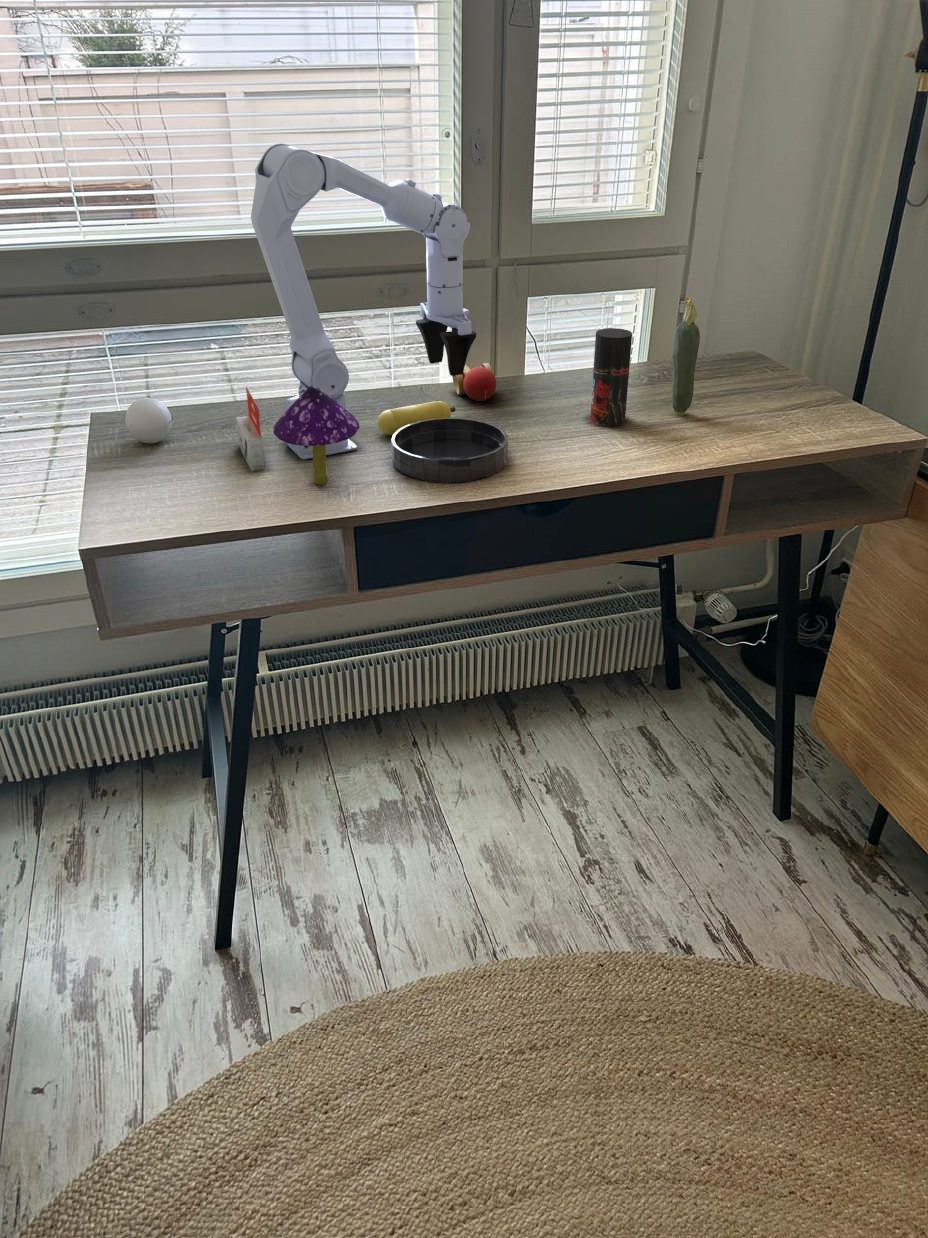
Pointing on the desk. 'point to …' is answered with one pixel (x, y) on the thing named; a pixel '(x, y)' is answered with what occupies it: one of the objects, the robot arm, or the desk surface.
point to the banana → (412, 415)
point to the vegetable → (685, 359)
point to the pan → (449, 449)
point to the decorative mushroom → (316, 426)
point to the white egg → (148, 420)
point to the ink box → (251, 436)
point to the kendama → (476, 382)
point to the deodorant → (610, 376)
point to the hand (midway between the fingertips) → (445, 368)
